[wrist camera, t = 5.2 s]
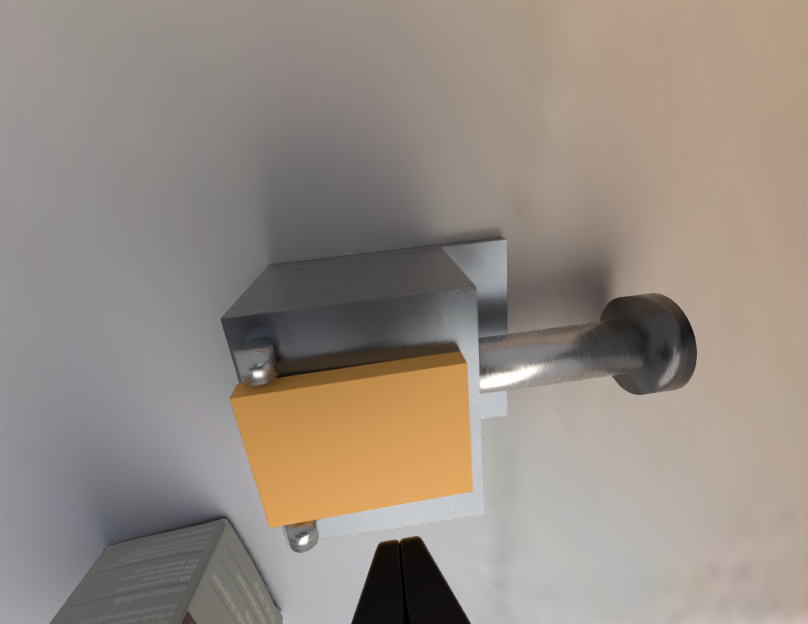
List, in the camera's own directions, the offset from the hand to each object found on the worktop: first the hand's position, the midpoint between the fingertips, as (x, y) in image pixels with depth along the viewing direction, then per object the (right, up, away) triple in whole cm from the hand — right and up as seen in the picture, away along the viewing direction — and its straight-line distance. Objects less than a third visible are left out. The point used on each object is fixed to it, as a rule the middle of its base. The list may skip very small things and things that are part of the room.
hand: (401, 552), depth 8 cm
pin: (+4, +4, +8) cm, 10 cm away
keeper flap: (-1, +1, +3) cm, 4 cm away
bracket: (0, +3, +9) cm, 9 cm away
